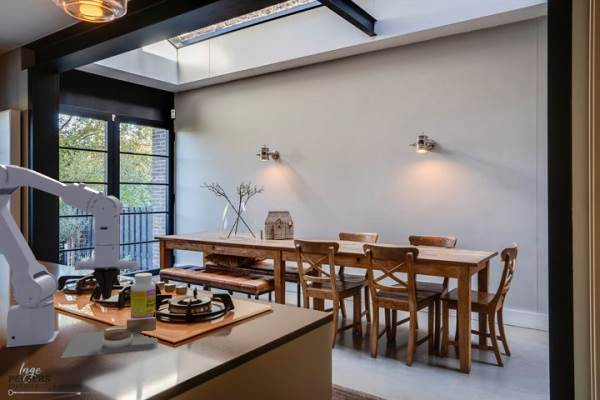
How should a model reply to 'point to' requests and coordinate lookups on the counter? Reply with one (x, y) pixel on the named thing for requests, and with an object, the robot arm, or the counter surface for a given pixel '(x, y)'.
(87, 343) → the mat
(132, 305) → the supplement bottle
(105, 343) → the jar
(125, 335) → the cap
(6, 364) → the counter surface
